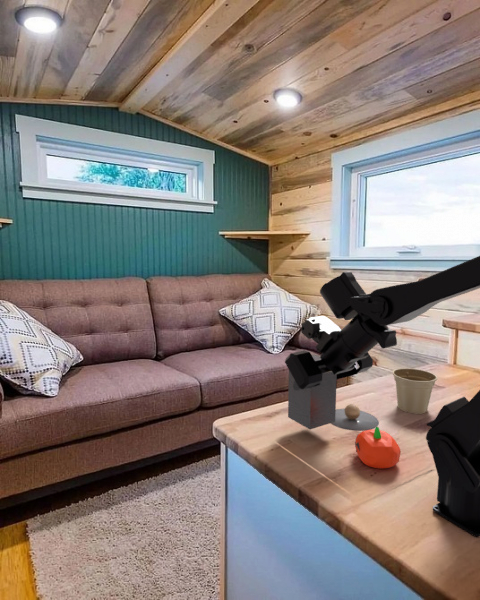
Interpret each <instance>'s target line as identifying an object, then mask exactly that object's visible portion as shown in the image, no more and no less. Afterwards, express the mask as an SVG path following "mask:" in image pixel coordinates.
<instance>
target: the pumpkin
mask: <svg viewBox="0 0 480 600" xmlns="http://www.w3.org/2000/svg"><path fill="white" fill-rule="evenodd" d="M354 445H355V446H354V447H355V453H356V454H357V457H358V458H359V459H360V460H361V462H362V463H363V464H364V465H366V466H368V467H371V468H373V469H381V470H383V469H389V468H392V467H395V466H396V465H397V464H398V462H400V457H401V452H402V451H401V448H400V445H399V444H398V442H397V441H396V439H395V438H393V436H391V434H389V433H387V432H386V431H385V430H380V427H378V426H377V427H376V428H374V429H371V430H365V431H360V433H358V434H357V436H356V438H355V442H354Z"/></svg>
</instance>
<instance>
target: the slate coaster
mask: <svg viewBox="0 0 480 600" xmlns="http://www.w3.org/2000/svg"><path fill="white" fill-rule="evenodd" d="M330 424H331V426H332V425H333V426H335V427H337V428H340V429H342V430H348V431H356V432H357V431H359V432H362V431H366V430H371V429H373V430H375V428H376V427H378V426H379V424H380V421H379V419H378V417H376V416H375V415H374V414H372V413H369V412H368V411H367V412H366V411H363V410H360V415H359V417H358V418H357V419H354V420H351V419H349V418H347V417H346V415H345V408H338V409H337V408H336V414H335V422H333V423H330Z"/></svg>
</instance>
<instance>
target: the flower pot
mask: <svg viewBox="0 0 480 600" xmlns="http://www.w3.org/2000/svg"><path fill="white" fill-rule="evenodd" d="M392 375H393V377H394V378H393V379H394V381H395V389H396V391H395V392H396V400H397V408H398V409H399V410H401V411H403V412H405V413H410V414H417V415H420V414H425V413H427V411H428V409H429V404H430V399H431V395H432V392H433V391H432V390H433V387H434V386H435V384H436V381H437V380H438V376H437V375H436V374H435V373H433V372H430V371H428V370H424V369H419V368H409V367H406V368H404V367H403V368H396V369H394V370H392Z"/></svg>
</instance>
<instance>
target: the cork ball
mask: <svg viewBox="0 0 480 600" xmlns="http://www.w3.org/2000/svg"><path fill="white" fill-rule="evenodd" d="M344 409H345V415H346V417H347V418H349V419H351V420H354V419H357V418H358V417H359V415H360V411H361V410H360V408H359V407H358V406H357V405H356V404H354V403H349V404H348V405H346V406H345V407H344Z"/></svg>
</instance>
